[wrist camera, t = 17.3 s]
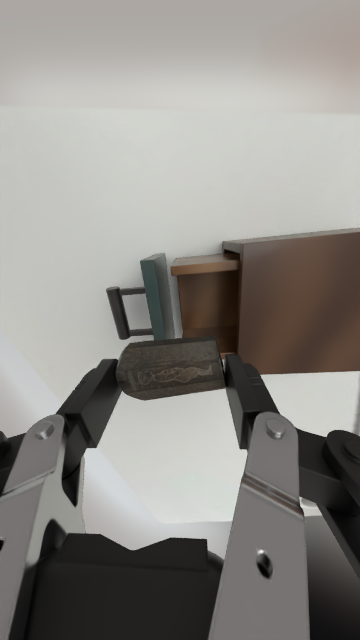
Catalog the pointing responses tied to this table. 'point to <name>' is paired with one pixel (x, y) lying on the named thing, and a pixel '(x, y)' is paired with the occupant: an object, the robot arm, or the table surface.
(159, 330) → the drawer
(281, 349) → the cabinet
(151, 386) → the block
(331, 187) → the table surface
